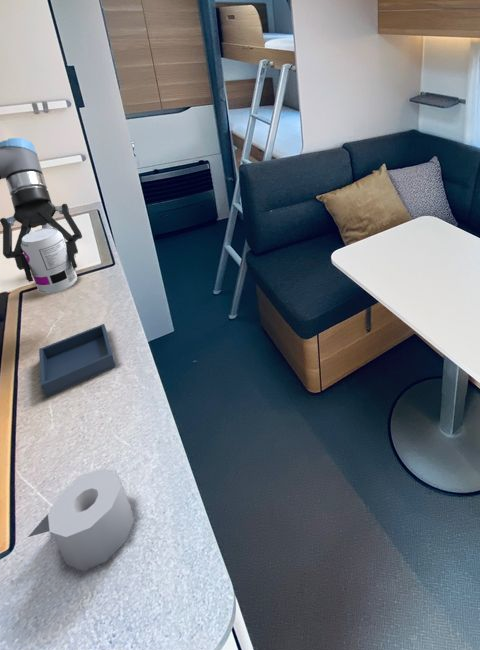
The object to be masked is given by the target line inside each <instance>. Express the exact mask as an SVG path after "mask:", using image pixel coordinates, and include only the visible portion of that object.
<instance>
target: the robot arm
mask: <svg viewBox="0 0 480 650" xmlns="http://www.w3.org/2000/svg"><path fill="white" fill-rule="evenodd" d="M4 179H5V181H6V185H7V189H8V192H9V195H10V199H11V203H12V206H13V211H14V213H13V215H12V216H10V217H7V218H6V217H1V218H0V224H1V226H2V255H3V257H4V258H5V259H14V261H15V264H16V268H18V270H19V271H22V270H24V275H25V278H26V280H27V281H28V282H29V283H31V282H33V281H34V278H33V275H32V273H31V270H30V268H29V265H28V263H27V260H26V258H25V255H24V253H23V250H22V248H21V242H22V238H23V236H25V235H26V234H28V233H30V232H32V229H35V228H38V227H39V226H42V225H47V223H48V224H49V225H50V227H51V228H56V229H57V230H58V231H59V232H61V233H62V235H63V237H64V239H65V241H66V242H65V243H66V247H67V250H68V253H69V257H70V260H71V263H72V266H73V268H75V269H76V268H78V265H77V262H76V258H75V259H74V255H73V254H75V255H77V254H79V249H78V246H77V243H76V242H77V241H78V240H81V239H83V235H82V231H81V230H80V229H79V227H78V225H77V224H76V222H75V220H74V218H73V217H72V216H71V213H70V208H69V206H68V204H67V203H62V204H61V205H54V204H53V203H52V199H51V196H50V193H49V190H47V189H48V186H47V183H46V180H45V176H44V174H43V170H42V166H41V164H40V160H39V156H38V153H37V151H36V149H35V146H34V144H33V142H32V141H30V140H28V139H26V138H22V137H10V138H8V139H5V140H1V141H0V180H4ZM56 212H58V213H59V214H60V215H63V217H64V219H65V221H66V222H67V225H68V226H69V228H70V229H71V231H72V232H73V234H71V233H70V232H69V231H67V230H66V229H65V228H64V227H63V226H62V225H61V224H60V223H59V222H57V220H55V218H54V216H55V214H56ZM15 222H18V223H20V224H21V226H20V230H19V234H18V237H17V240H16V243H15V246H14V249H13V228H12V227H13V226H14V225H15Z"/></svg>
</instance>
